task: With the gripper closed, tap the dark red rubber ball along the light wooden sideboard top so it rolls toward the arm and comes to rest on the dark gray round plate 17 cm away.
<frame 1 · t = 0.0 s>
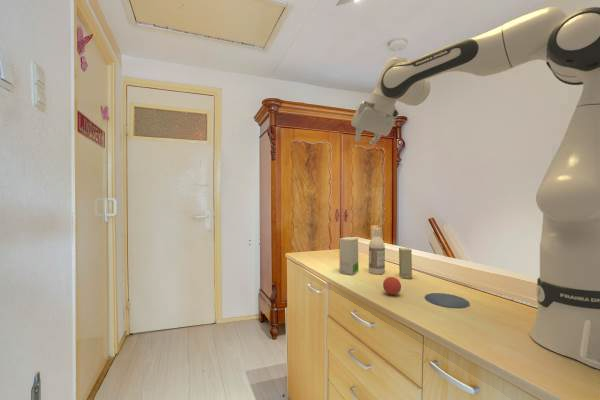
hand: (364, 143, 104), 54 cm above the sideboard, tool tilted 30°, fingers open, 8 cm apart
bath foam: (376, 273, 125), on the sideboard
dark gray round plate: (446, 300, 91), on the sideboard
skincare box: (405, 277, 118), on the sideboard
ball: (391, 285, 96), on the sideboard
skincare box 2: (348, 272, 125), on the sideboard
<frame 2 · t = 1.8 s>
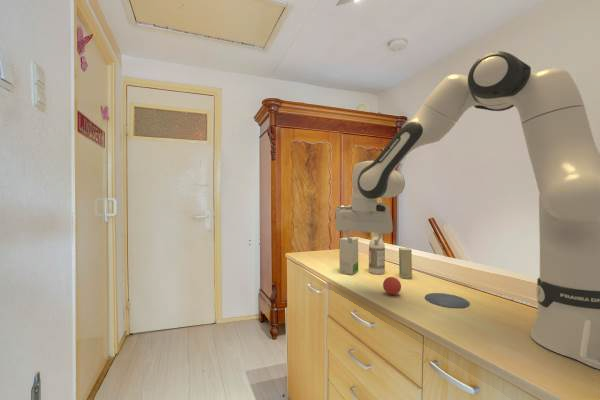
hand: (363, 244, 100), 17 cm above the sideboard, tool pointing down, fingers open, 8 cm apart
nothing on the sideboard moved.
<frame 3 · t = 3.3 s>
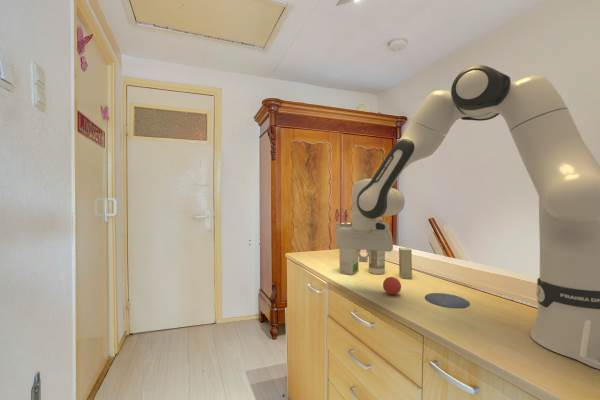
hand: (363, 261, 100), 11 cm above the sideboard, tool pointing down, fingers closed
nothing on the sideboard moved.
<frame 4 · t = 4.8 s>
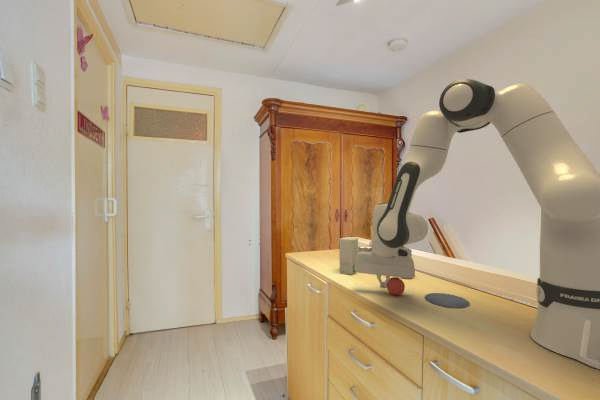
hand: (383, 287, 97), 2 cm above the sideboard, tool pointing down, fingers closed
ball: (395, 286, 96), on the sideboard, touching gripper
everything else where it was.
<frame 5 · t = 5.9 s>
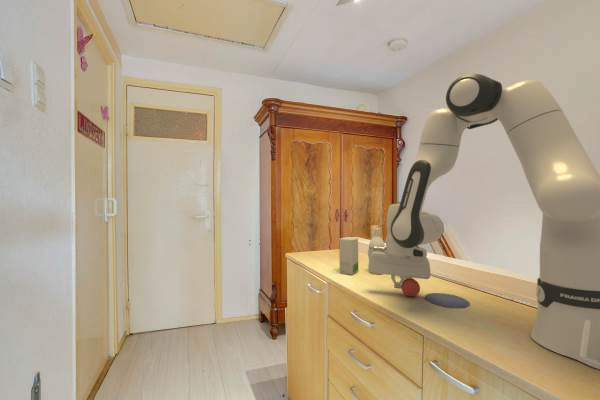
hand: (397, 287, 96), 2 cm above the sideboard, tool pointing down, fingers closed
ball: (410, 287, 95), on the sideboard, touching gripper
everything else where it was.
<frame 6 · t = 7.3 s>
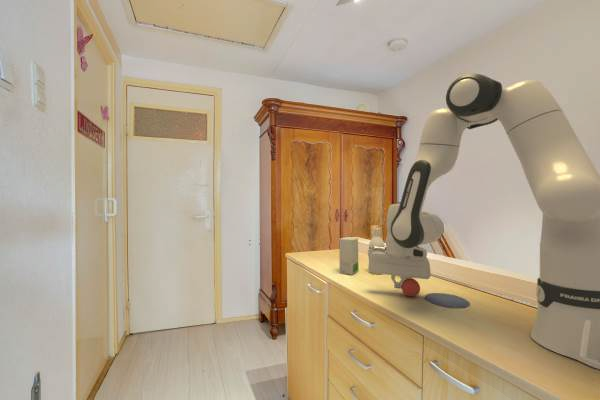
hand: (397, 288, 96), 2 cm above the sideboard, tool pointing down, fingers closed
nothing on the sideboard moved.
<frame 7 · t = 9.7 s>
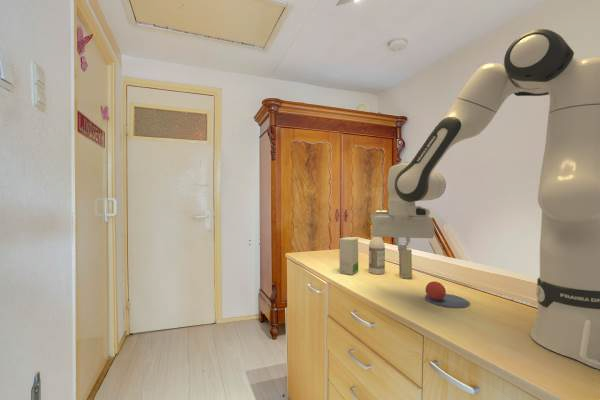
hand: (402, 250, 95), 16 cm above the sideboard, tool pointing down, fingers closed
ball: (435, 290, 91), resting on dark gray round plate
everything else where it was.
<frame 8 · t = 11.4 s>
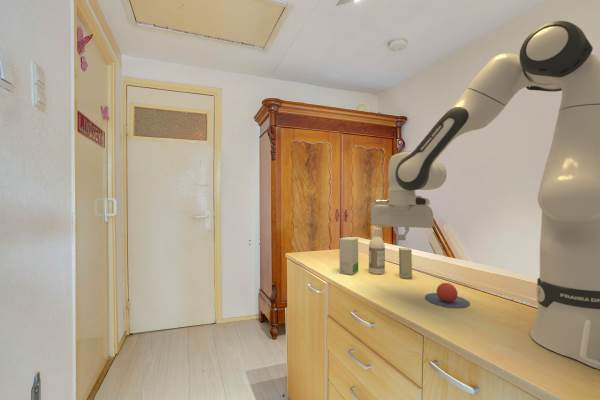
hand: (401, 240, 95), 19 cm above the sideboard, tool pointing down, fingers closed
ball: (446, 292, 89), resting on dark gray round plate
everything else where it was.
at the end: ball 1.4 cm from the dark gray round plate (horizontally); ball at rest at the end (0.0 cm/s); ball moved 17.0 cm from its start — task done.
